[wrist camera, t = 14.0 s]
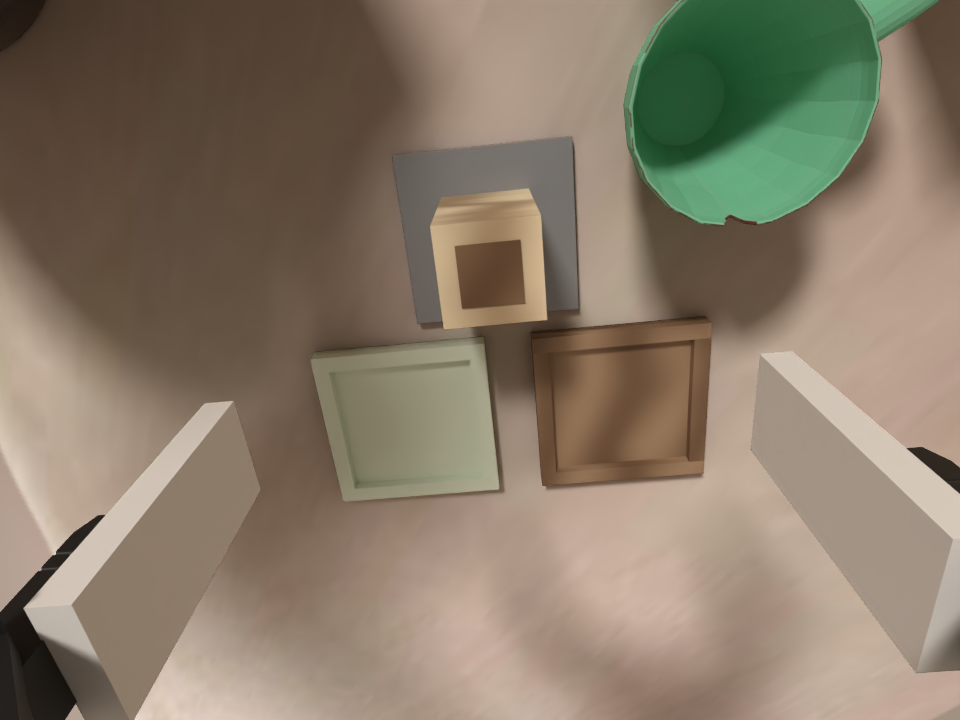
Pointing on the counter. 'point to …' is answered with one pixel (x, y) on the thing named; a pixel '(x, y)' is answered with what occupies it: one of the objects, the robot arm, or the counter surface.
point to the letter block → (489, 259)
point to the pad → (483, 172)
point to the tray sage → (408, 418)
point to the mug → (755, 101)
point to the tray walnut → (622, 400)
